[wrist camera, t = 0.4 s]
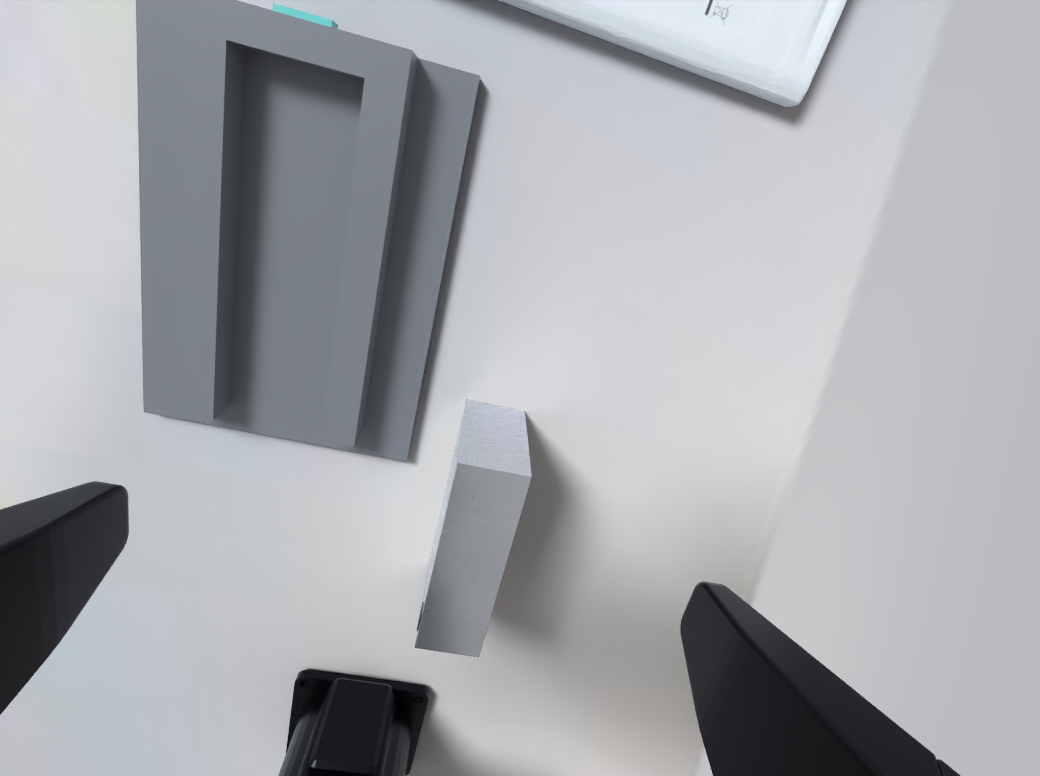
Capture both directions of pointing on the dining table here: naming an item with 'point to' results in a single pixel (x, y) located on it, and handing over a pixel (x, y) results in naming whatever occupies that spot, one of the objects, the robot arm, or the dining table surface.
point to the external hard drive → (713, 37)
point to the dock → (291, 221)
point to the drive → (475, 528)
